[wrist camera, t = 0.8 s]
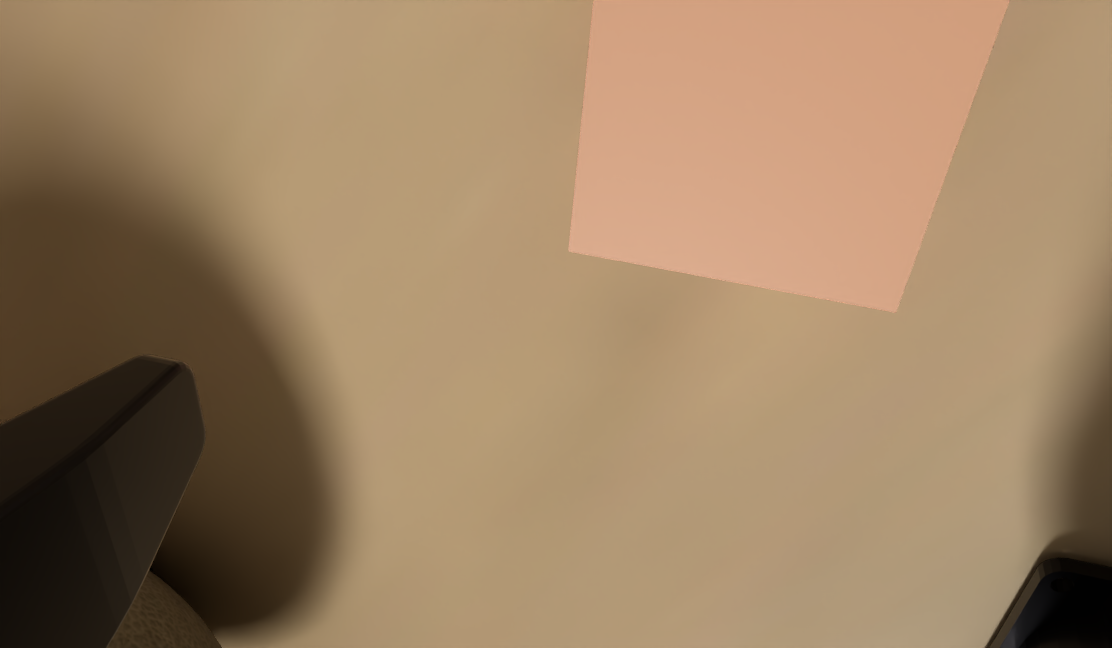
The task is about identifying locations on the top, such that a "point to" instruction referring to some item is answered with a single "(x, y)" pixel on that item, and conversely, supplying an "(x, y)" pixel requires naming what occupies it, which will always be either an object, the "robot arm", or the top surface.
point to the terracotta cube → (775, 137)
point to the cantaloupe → (162, 621)
